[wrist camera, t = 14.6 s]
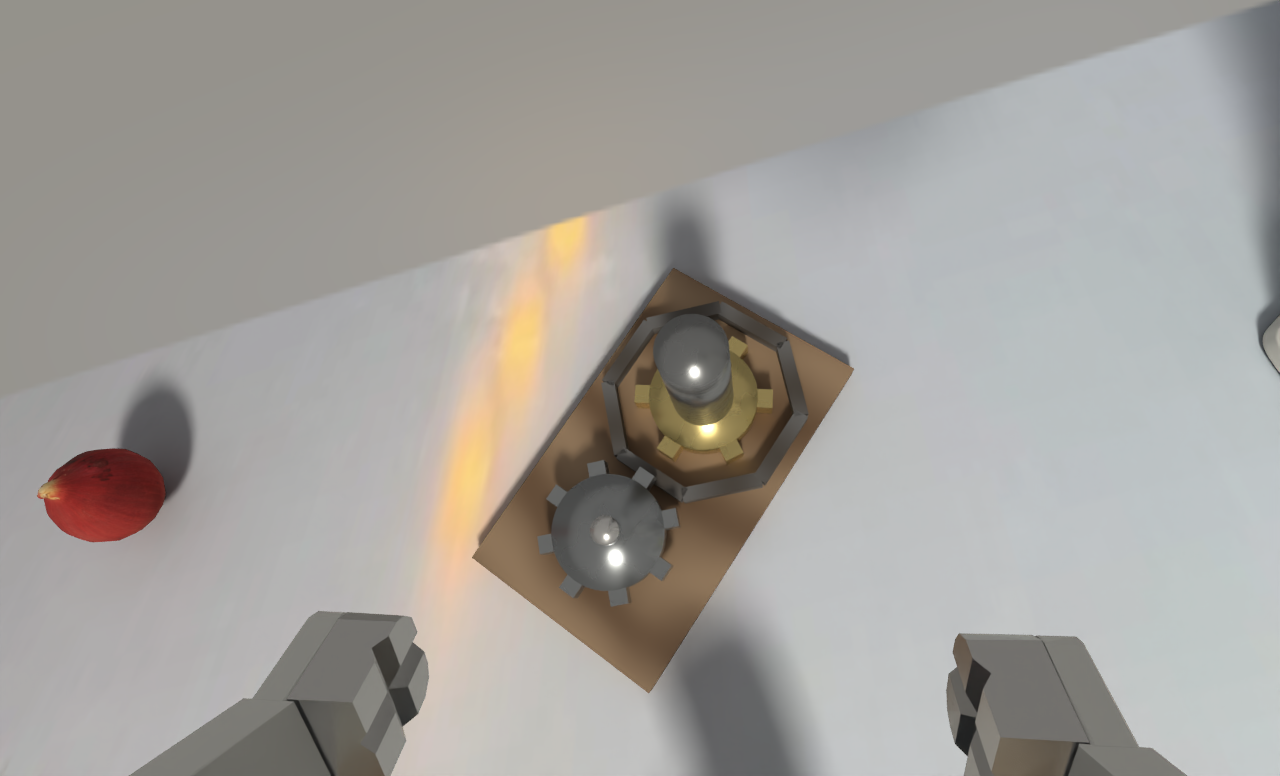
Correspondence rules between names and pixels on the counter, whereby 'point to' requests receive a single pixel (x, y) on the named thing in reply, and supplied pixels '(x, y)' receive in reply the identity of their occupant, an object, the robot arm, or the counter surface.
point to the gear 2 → (701, 389)
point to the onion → (104, 495)
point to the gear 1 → (609, 533)
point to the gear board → (665, 481)
